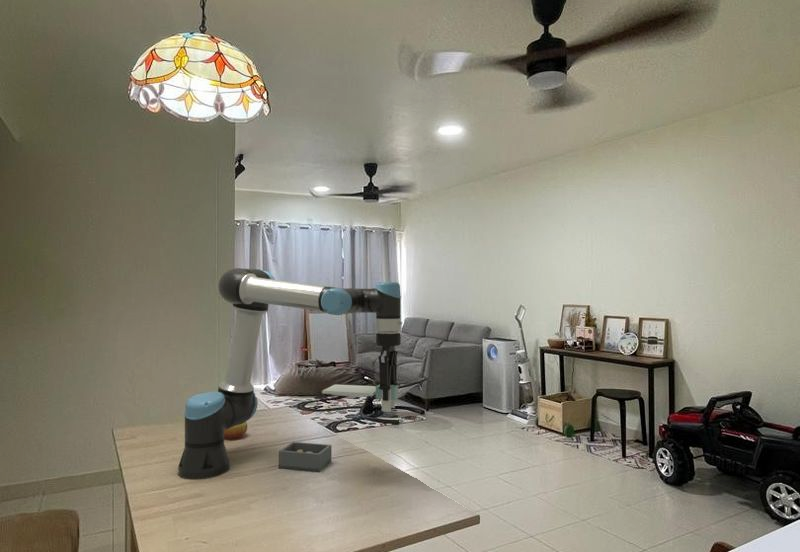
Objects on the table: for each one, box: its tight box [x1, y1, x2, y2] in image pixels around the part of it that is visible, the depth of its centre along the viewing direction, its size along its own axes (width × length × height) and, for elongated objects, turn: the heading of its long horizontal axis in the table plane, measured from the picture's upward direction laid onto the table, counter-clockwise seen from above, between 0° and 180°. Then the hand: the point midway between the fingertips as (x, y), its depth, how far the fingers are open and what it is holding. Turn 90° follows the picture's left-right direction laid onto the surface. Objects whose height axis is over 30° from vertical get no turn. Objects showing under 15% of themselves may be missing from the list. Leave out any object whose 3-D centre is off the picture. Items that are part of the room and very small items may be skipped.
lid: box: [321, 383, 399, 401], centre depth 153 cm, size 22×11×4 cm, turn 76°
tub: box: [278, 441, 332, 473], centre depth 161 cm, size 14×10×6 cm
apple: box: [224, 421, 248, 440], centre depth 192 cm, size 10×10×8 cm
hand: (388, 409), depth 151 cm, fingers closed on lid, 4 cm apart
